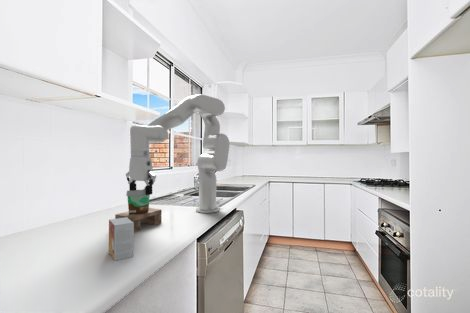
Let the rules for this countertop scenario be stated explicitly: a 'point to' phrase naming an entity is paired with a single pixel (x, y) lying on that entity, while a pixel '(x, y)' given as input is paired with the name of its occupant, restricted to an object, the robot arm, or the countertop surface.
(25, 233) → the countertop surface
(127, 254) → the small box
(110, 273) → the countertop surface
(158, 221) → the bridge shelf
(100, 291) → the countertop surface
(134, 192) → the food container
